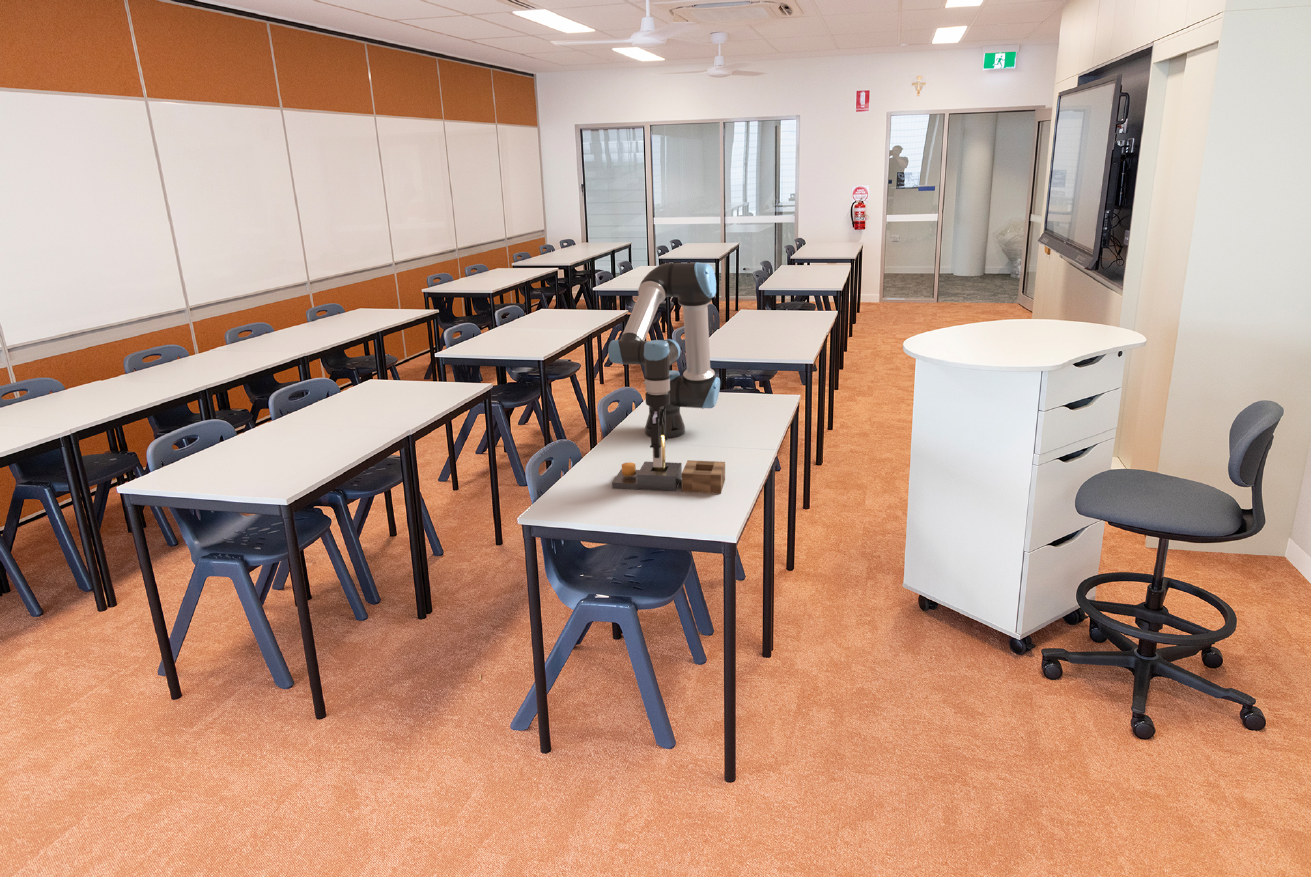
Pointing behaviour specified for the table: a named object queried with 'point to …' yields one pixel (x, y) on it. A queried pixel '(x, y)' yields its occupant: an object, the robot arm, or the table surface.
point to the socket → (651, 478)
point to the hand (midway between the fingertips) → (659, 463)
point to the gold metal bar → (662, 455)
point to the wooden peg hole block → (703, 476)
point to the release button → (628, 469)
